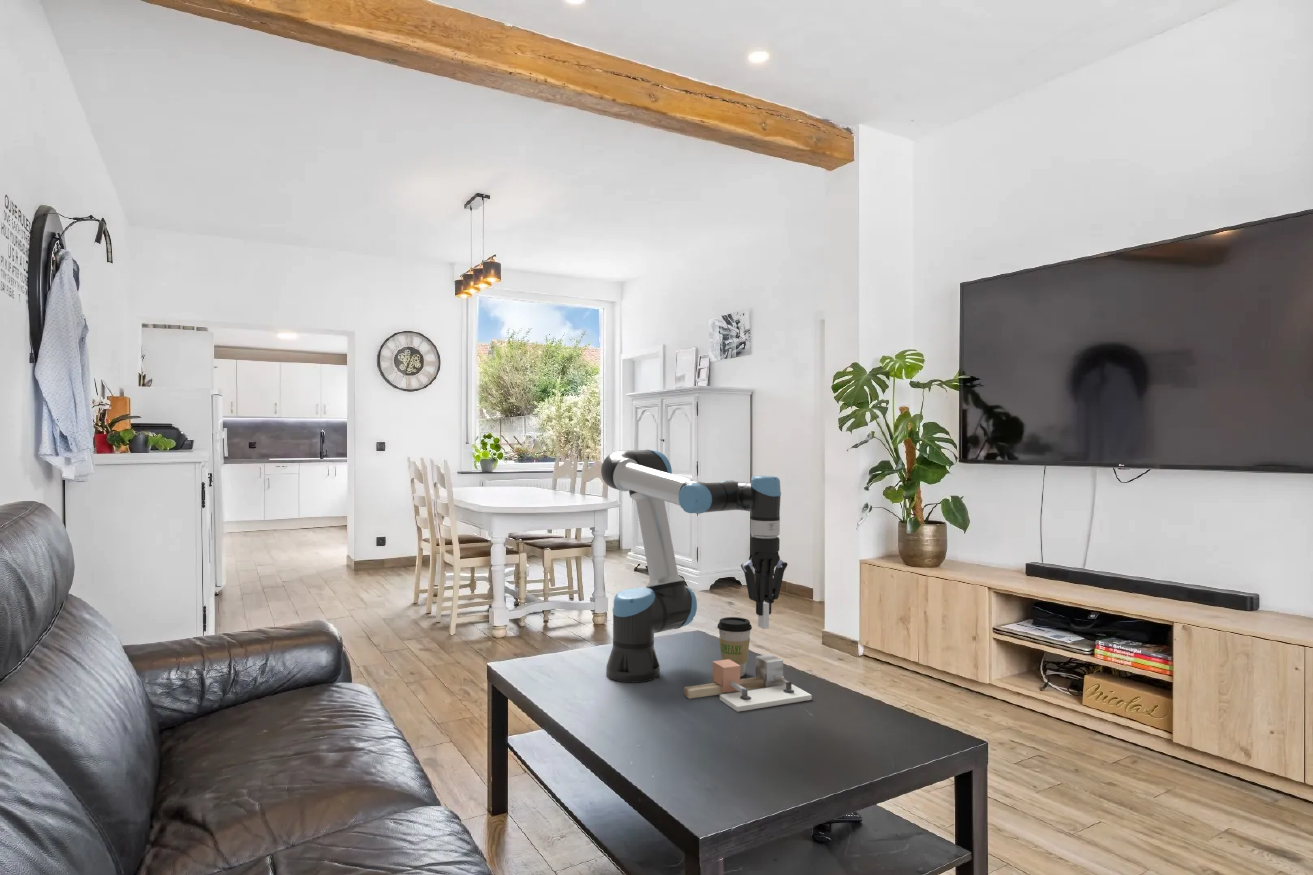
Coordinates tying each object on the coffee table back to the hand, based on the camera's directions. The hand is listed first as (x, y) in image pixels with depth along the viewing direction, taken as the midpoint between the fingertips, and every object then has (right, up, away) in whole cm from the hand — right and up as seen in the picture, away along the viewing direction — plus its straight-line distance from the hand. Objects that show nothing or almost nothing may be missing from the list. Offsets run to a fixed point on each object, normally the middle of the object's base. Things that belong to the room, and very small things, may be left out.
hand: (763, 627), depth 193 cm
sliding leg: (-8, -18, +2) cm, 19 cm away
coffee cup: (-5, -19, +20) cm, 28 cm away
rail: (-5, -18, +4) cm, 19 cm away
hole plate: (+1, -19, 0) cm, 18 cm away
